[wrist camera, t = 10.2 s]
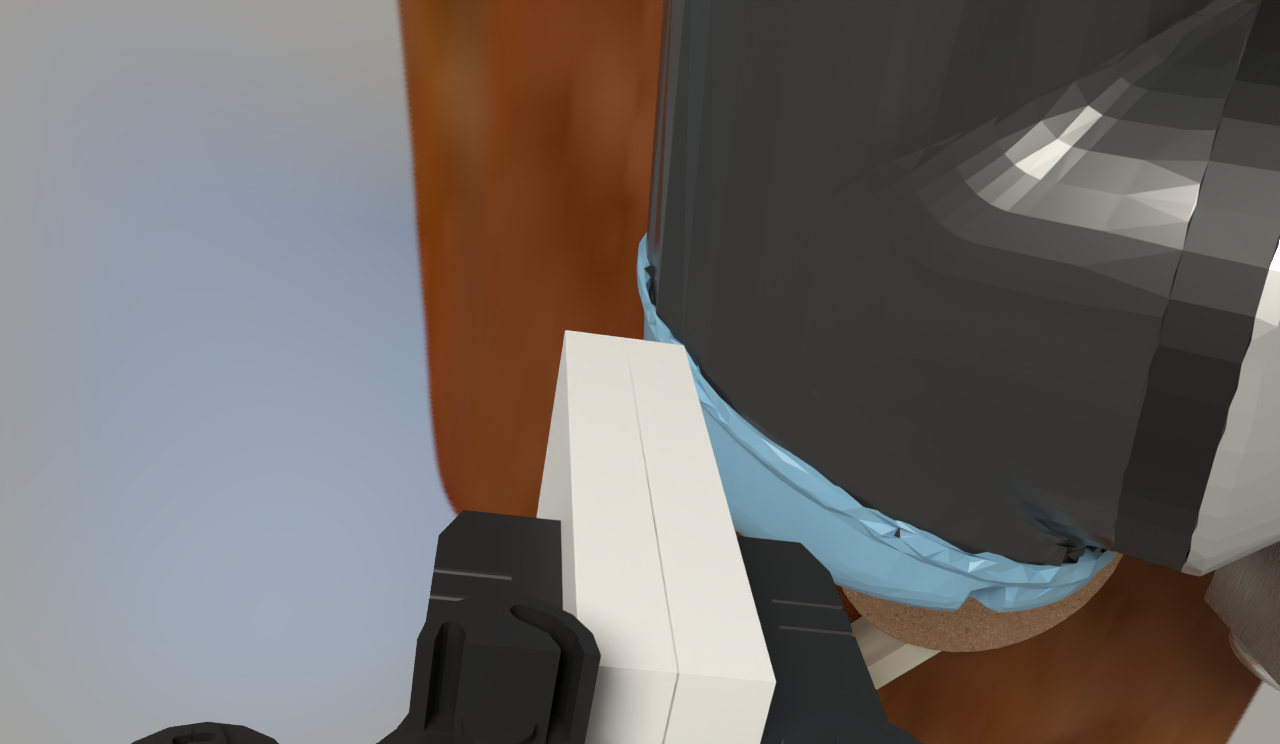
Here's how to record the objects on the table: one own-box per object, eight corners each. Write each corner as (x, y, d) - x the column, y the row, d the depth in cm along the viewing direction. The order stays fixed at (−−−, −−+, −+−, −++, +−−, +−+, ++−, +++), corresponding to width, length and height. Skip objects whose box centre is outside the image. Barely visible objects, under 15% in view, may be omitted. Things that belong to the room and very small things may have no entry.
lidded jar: (928, 243, 45) (1018, 339, 36) (1107, 408, 48) (1228, 531, 40) (732, 441, 48) (773, 573, 39) (914, 584, 51) (989, 734, 43)
